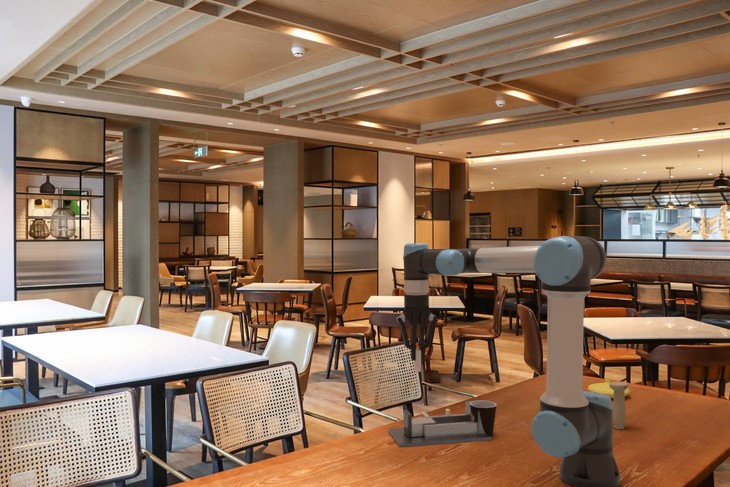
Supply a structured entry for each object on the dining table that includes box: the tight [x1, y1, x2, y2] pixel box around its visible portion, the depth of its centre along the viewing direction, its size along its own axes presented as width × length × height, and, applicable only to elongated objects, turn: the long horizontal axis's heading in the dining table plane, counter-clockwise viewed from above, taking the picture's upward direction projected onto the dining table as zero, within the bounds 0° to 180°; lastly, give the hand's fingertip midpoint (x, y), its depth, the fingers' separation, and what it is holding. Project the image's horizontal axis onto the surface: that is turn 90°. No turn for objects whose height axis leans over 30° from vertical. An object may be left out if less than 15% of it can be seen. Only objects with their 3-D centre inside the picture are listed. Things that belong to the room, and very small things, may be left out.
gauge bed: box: [388, 400, 492, 448], centre depth 202 cm, size 16×30×9 cm, turn 100°
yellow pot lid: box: [587, 377, 631, 399], centre depth 248 cm, size 16×16×7 cm
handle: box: [609, 381, 630, 430], centre depth 207 cm, size 5×6×15 cm
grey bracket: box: [403, 409, 436, 437], centre depth 204 cm, size 11×9×7 cm
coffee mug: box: [470, 399, 498, 438], centre depth 204 cm, size 12×9×10 cm
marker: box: [445, 408, 451, 415], centre depth 210 cm, size 2×1×5 cm, turn 10°
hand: (417, 370), depth 189 cm, fingers closed
